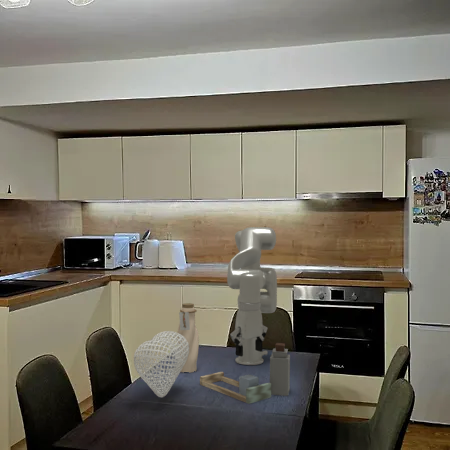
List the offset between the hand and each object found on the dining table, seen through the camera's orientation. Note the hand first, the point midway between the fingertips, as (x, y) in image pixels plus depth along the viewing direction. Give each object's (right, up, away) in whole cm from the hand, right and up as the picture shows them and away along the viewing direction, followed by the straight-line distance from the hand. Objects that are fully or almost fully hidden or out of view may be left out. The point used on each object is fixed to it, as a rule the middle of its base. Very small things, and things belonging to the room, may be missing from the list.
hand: (249, 353), depth 200 cm
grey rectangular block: (0, -16, 0) cm, 16 cm away
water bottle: (-25, -15, +32) cm, 43 cm away
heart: (-32, -16, -2) cm, 35 cm away
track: (-5, -15, +6) cm, 17 cm away
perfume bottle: (+12, -16, +5) cm, 20 cm away
